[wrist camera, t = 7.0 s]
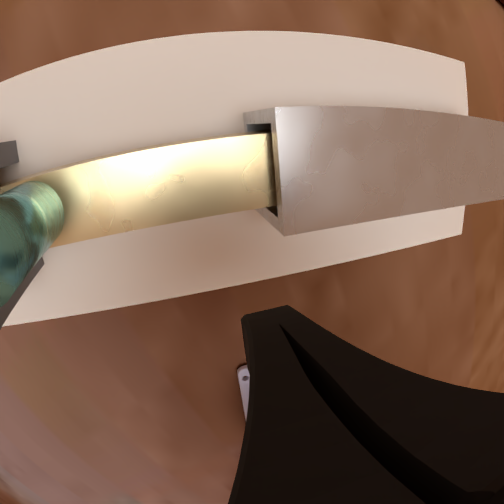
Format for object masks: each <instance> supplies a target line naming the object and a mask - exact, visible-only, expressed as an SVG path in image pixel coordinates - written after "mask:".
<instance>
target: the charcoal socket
mask: <svg viewBox="0 0 504 504" xmlns="http://www.w3.org/2000/svg"><path fill="white" fill-rule="evenodd" d="M18 162H19V157H18V151H17V144H16V140H14V141H7V142H1V143H0V169H1V168H3V167H6V166H9V165H12V164H15V163H18ZM43 265H44V261H43V258H42V257H41V258H40V259H39V261H38V262H37V263H36V264H35V266H34V267H33V268H32V270H31V271H30V272H29V273H28V275H27V276H26V277H25V279H24V280H23V281H22V283H21V284H20V285H19V287H18V288H17V289H16V291H15V292H14V294H13V295H12V296H11V298H10V299H9V301H8V302H7V303H6V304H4V305H3V306H2V307H0V329H1V327H2V326H3V324H4V322H5V321H6V319H7V318H8V316H9V315H10V313H11V311H12V310H13V308H14V307H15V305H16V304H17V302H18V301H19V299H20V298H21V296H22V295H23V293H24V292H25V290H26V289H27V288H28V286H29V285H30V283H31V282H32V280H33V279H34V278H35V276H36V275H37V273H38V272H39V271H40V269H41V268H42V267H43Z"/></svg>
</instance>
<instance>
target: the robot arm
mask: <svg viewBox="0 0 504 504" xmlns="http://www.w3.org/2000/svg"><path fill="white" fill-rule="evenodd" d="M241 324H242V331H243V339H244V347H245V354H246V361H247V365H244V366H241V367H240V368H238V370H237V375H238V380H239V386H240V392H241V398H242V403H243V409H244V414H245V420H246V426H245V433H244V438H243V444H242V449H241V455H240V460H239V464H238V469H237V473H236V477H235V480H234V484H233V488H232V491H231V495H230V498H229V502H228V504H504V393H498V392H490V391H484V390H477V389H471V388H467V387H462V386H457V385H453V384H449V383H446V382H442V381H438V380H435V379H431V378H428V377H425V376H422V375H419V374H416V373H413V372H410V371H408V370H405V369H403V368H400V367H398V366H395V365H392V364H390V363H388V362H386V361H383V360H381V359H379V358H377V357H375V356H373V355H371V354H369V353H367V352H365V351H363V350H361V349H359V348H357V347H355V346H353V345H351V344H350V343H348V342H346V341H344V340H342V339H341V338H339V337H337V336H336V335H334V334H332V333H331V332H329V331H327V330H326V329H324V328H323V327H321V326H319V325H318V324H316V323H315V322H313V321H312V320H310V319H308V318H307V317H305V316H304V315H302V314H301V313H299V312H298V311H296V310H295V309H293V308H292V307H290V306H288V305H285V306H281V307H277V308H273V309H268V310H264V311H260V312H255V313H251V314H246V315H244V316H243V317H242V319H241ZM244 376H247V377H244Z"/></svg>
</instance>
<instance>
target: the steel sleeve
mask: <svg viewBox="0 0 504 504" xmlns="http://www.w3.org/2000/svg"><path fill="white" fill-rule="evenodd" d="M243 121H244V131H245V132H254V131H266V130H271V131H272V143H273V155H274V168H275V181H276V195H277V206H271V207H265V208H258V209H255V210H256V211H257V212H258V213H259V214H260V215H261V216H263V217H264V218H265V219H266V220H267V221H268V222H269V223H270V224H271V225H272V226H273V227H274V228H275V229H276V230H278V231H279V232H280V233H281V234H282V235H283V236H290V235H295V234H301V233H307V232H312V231H318V230H324V229H329V228H335V227H341V226H346V225H352V224H358V223H364V222H369V221H375V220H381V219H387V218H393V217H398V216H404V215H410V214H416V213H422V212H428V211H434V210H440V209H446V208H452V207H458V206H464V205H470V204H476V203H482V202H488V201H494V200H501V199H504V122H500V121H495V120H489V119H484V118H478V117H472V116H465V115H458V114H451V113H443V112H434V111H425V110H415V109H402V108H388V107H367V106H293V107H274V108H267V109H261V110H255V111H249V112H244V113H243Z"/></svg>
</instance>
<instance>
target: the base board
mask: <svg viewBox="0 0 504 504" xmlns="http://www.w3.org/2000/svg"><path fill="white" fill-rule="evenodd" d="M293 106H367V107H388V108H402V109H415V110H425V111H434V112H443V113H451V114H458V115H465V116H468V102H467V86H466V74H465V64H464V62H461V61H458V60H455V59H452V58H448V57H445V56H441V55H438V54H434V53H430V52H426V51H423V50H418V49H414V48H410V47H405V46H401V45H396V44H391V43H386V42H380V41H374V40H368V39H362V38H355V37H347V36H339V35H330V34H319V33H306V32H288V31H232V32H213V33H200V34H189V35H180V36H172V37H164V38H157V39H151V40H145V41H139V42H133V43H128V44H123V45H118V46H114V47H109V48H105V49H100V50H96V51H92V52H88V53H85V54H81V55H77V56H74V57H70V58H67V59H63V60H60V61H57V62H54V63H51V64H48V65H45V66H42V67H39V68H36V69H33V70H31V71H28V72H25V73H23V74H20V75H17V76H15V77H12V78H10V79H7V80H5V81H3V82H0V143H1V142H7V141H14V140H16V144H17V151H18V157H19V162H18V163H15V164H12V165H9V166H6V167H3V168H1V169H0V184H3V183H6V182H9V181H12V180H15V179H18V178H22V177H25V176H28V175H31V174H35V173H38V172H41V171H45V170H48V169H52V168H56V167H59V166H63V165H67V164H70V163H74V162H78V161H82V160H86V159H91V158H95V157H99V156H103V155H108V154H112V153H117V152H122V151H127V150H132V149H137V148H142V147H147V146H152V145H158V144H164V143H170V142H176V141H182V140H189V139H196V138H203V137H210V136H218V135H226V134H235V133H244V132H245V131H244V121H243V113H244V112H249V111H255V110H261V109H267V108H274V107H293ZM464 209H465V205H464V206H458V207H452V208H446V209H440V210H434V211H428V212H422V213H416V214H410V215H404V216H398V217H393V218H387V219H381V220H375V221H369V222H364V223H358V224H352V225H346V226H341V227H335V228H329V229H324V230H318V231H312V232H307V233H301V234H295V235H290V236H283V235H282V234H281V233H280V232H279V231H278V230H276V229H275V228H274V227H273V226H272V225H271V224H270V223H269V222H268V221H267V220H266V219H265V218H264V217H263V216H261V215H260V214H259V213H258V212H257V211H256V210H255V209H252V210H246V211H240V212H233V213H227V214H221V215H215V216H210V217H204V218H198V219H192V220H187V221H181V222H176V223H170V224H165V225H159V226H154V227H149V228H144V229H138V230H133V231H128V232H123V233H118V234H113V235H108V236H103V237H99V238H94V239H89V240H84V241H80V242H75V243H70V244H66V245H61V246H57V247H52V248H48V250H47V251H46V252H45V253H44V255H43V256H42V258H43V261H44V265H43V267H42V268H41V269H40V271H39V272H38V273H37V275H36V276H35V278H34V279H33V280H32V282H31V283H30V285H29V286H28V288H27V289H26V290H25V292H24V293H23V295H22V296H21V298H20V299H19V301H18V302H17V304H16V305H15V307H14V308H13V310H12V311H11V313H10V315H9V316H8V318H7V319H6V321H5V322H4V324H3V326H8V325H15V324H22V323H29V322H35V321H42V320H48V319H54V318H61V317H67V316H73V315H79V314H85V313H91V312H97V311H103V310H108V309H114V308H120V307H126V306H131V305H137V304H142V303H148V302H153V301H159V300H164V299H169V298H175V297H180V296H185V295H191V294H196V293H201V292H206V291H211V290H216V289H221V288H226V287H231V286H236V285H241V284H246V283H251V282H256V281H261V280H265V279H270V278H275V277H280V276H284V275H289V274H294V273H298V272H303V271H307V270H312V269H317V268H321V267H326V266H330V265H335V264H339V263H343V262H348V261H352V260H357V259H361V258H365V257H370V256H374V255H378V254H382V253H387V252H391V251H395V250H399V249H403V248H408V247H412V246H416V245H420V244H424V243H428V242H432V241H436V240H440V239H444V238H448V237H452V236H456V235H460V234H462V226H463V218H464Z"/></svg>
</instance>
